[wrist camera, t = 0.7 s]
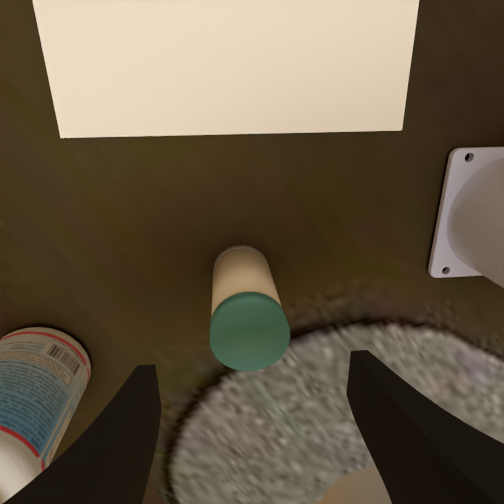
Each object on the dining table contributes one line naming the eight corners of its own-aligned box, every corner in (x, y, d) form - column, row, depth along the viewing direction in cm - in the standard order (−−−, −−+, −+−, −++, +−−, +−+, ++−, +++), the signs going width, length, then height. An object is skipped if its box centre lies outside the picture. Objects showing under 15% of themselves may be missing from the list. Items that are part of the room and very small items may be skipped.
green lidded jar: (269, 241, 22) (291, 300, 15) (269, 293, 23) (289, 368, 16) (211, 244, 21) (207, 305, 15) (214, 296, 23) (212, 373, 16)
